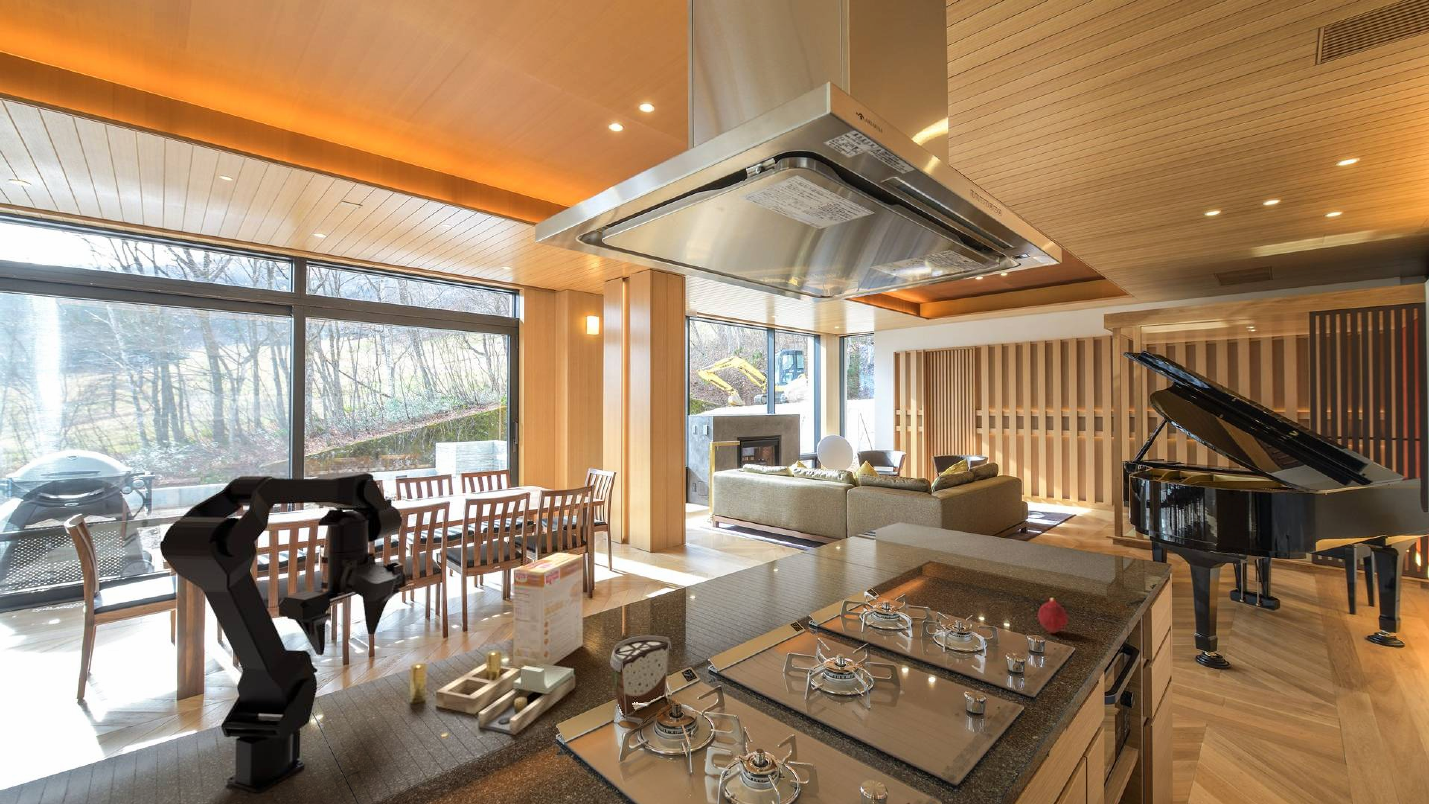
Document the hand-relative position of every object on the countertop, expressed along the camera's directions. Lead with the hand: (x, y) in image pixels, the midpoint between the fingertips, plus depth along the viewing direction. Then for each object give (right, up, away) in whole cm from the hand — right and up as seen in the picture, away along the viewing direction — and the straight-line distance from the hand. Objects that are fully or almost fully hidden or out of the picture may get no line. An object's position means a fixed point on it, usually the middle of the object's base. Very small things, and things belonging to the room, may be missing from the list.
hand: (346, 643), depth 97 cm
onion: (+138, -14, +38) cm, 144 cm away
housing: (+29, -12, +4) cm, 32 cm away
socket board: (+19, -12, +8) cm, 24 cm away
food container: (+47, -13, +6) cm, 48 cm away
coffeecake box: (+27, -13, +24) cm, 38 cm away
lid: (+30, -10, +8) cm, 33 cm away
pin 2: (+20, -12, +11) cm, 26 cm away
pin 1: (+9, -12, +6) cm, 16 cm away
